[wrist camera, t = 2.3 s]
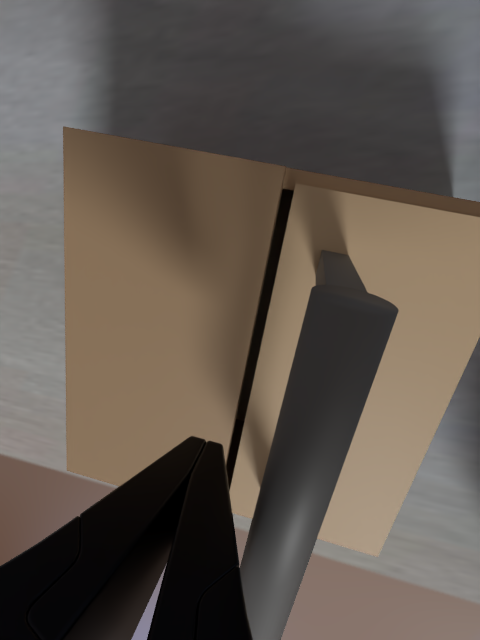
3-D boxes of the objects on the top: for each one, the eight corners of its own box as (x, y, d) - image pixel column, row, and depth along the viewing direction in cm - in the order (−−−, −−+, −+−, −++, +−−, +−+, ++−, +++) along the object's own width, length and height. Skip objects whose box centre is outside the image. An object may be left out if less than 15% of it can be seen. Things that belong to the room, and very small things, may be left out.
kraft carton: (453, 204, 16) (544, 212, 9) (359, 453, 21) (379, 564, 15) (151, 149, 17) (63, 126, 11) (133, 393, 22) (66, 470, 16)
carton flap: (518, 224, 10) (830, 276, 4) (375, 543, 15) (417, 787, 9) (296, 183, 11) (273, 175, 5) (228, 499, 16) (173, 696, 10)
